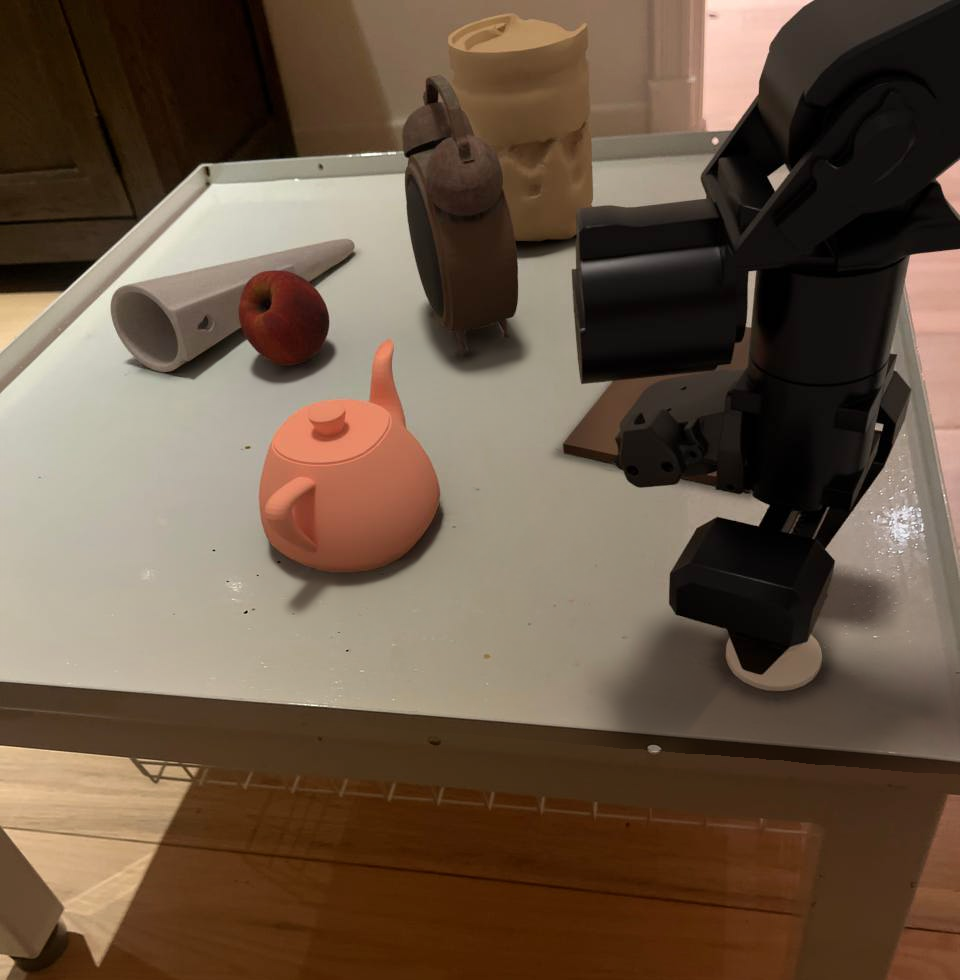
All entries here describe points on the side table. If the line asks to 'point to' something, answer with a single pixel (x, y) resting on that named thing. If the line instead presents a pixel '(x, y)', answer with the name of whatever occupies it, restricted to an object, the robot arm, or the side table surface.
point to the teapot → (348, 481)
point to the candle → (782, 665)
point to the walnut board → (613, 405)
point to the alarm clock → (458, 217)
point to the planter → (203, 303)
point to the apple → (283, 317)
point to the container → (530, 116)
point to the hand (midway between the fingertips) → (780, 612)
